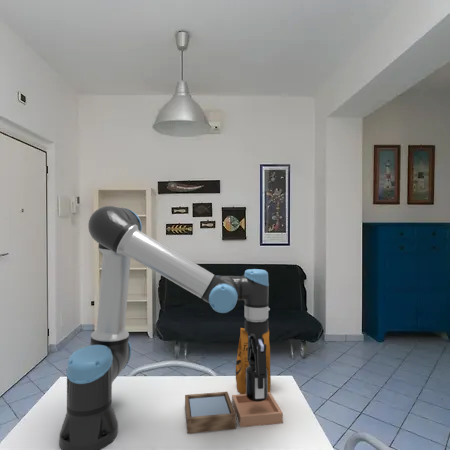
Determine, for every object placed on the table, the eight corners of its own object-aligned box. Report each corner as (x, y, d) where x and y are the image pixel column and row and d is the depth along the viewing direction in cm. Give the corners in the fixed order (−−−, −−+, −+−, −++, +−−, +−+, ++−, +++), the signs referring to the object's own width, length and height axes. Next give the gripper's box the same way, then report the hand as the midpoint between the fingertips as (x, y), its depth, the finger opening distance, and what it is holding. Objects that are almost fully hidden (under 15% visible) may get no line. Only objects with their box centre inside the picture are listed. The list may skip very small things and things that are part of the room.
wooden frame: (187, 433, 95) (187, 419, 95) (184, 407, 109) (184, 394, 109) (235, 428, 97) (235, 414, 97) (227, 403, 111) (227, 391, 111)
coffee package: (234, 382, 127) (235, 324, 127) (267, 381, 127) (267, 323, 127) (237, 395, 117) (237, 332, 117) (272, 394, 117) (272, 331, 117)
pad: (191, 422, 97) (191, 418, 97) (189, 401, 108) (189, 398, 108) (230, 418, 98) (230, 415, 98) (224, 399, 110) (224, 396, 110)
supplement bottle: (267, 392, 109) (267, 355, 109) (267, 403, 102) (268, 363, 102) (246, 390, 109) (246, 354, 109) (245, 401, 103) (245, 362, 103)
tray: (240, 427, 98) (240, 416, 98) (232, 404, 111) (232, 395, 111) (282, 423, 100) (282, 413, 100) (269, 400, 113) (270, 392, 113)
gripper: (278, 327, 97) (277, 407, 97) (259, 310, 116) (259, 377, 116) (252, 328, 95) (252, 409, 95) (238, 311, 115) (238, 378, 115)
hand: (256, 391), depth 106 cm, fingers closed on supplement bottle, 7 cm apart
